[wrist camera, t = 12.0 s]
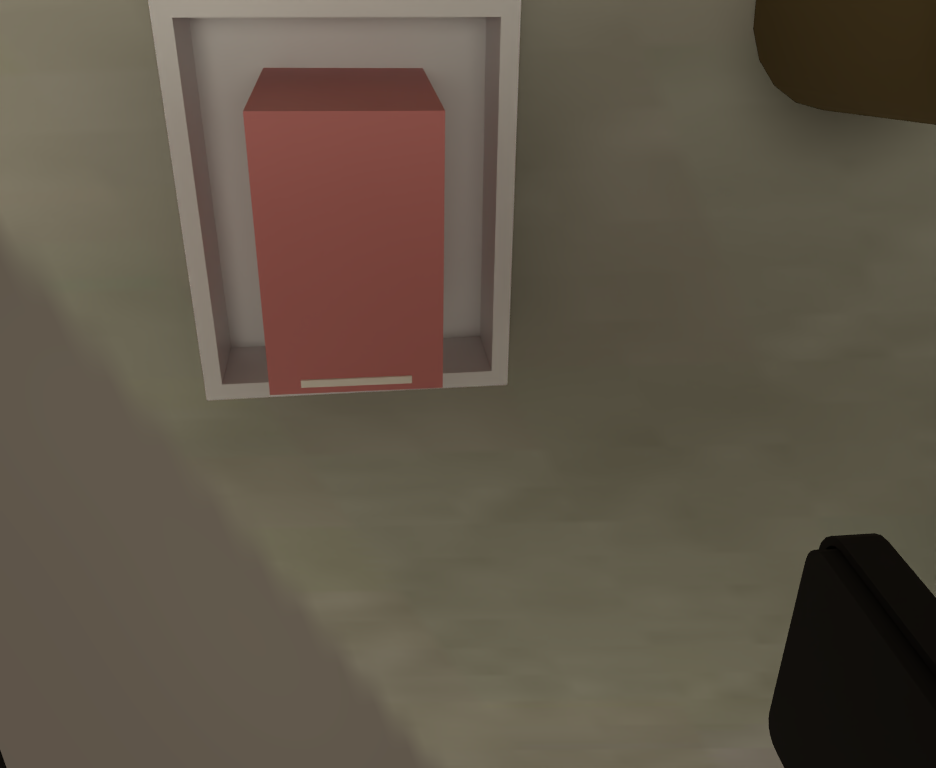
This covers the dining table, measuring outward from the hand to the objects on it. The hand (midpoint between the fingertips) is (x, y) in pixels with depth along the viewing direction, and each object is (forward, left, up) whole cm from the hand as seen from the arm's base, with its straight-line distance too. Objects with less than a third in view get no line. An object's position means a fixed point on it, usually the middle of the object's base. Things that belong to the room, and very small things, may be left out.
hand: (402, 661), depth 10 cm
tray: (0, 0, -19) cm, 19 cm away
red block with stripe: (0, 0, -19) cm, 19 cm away
